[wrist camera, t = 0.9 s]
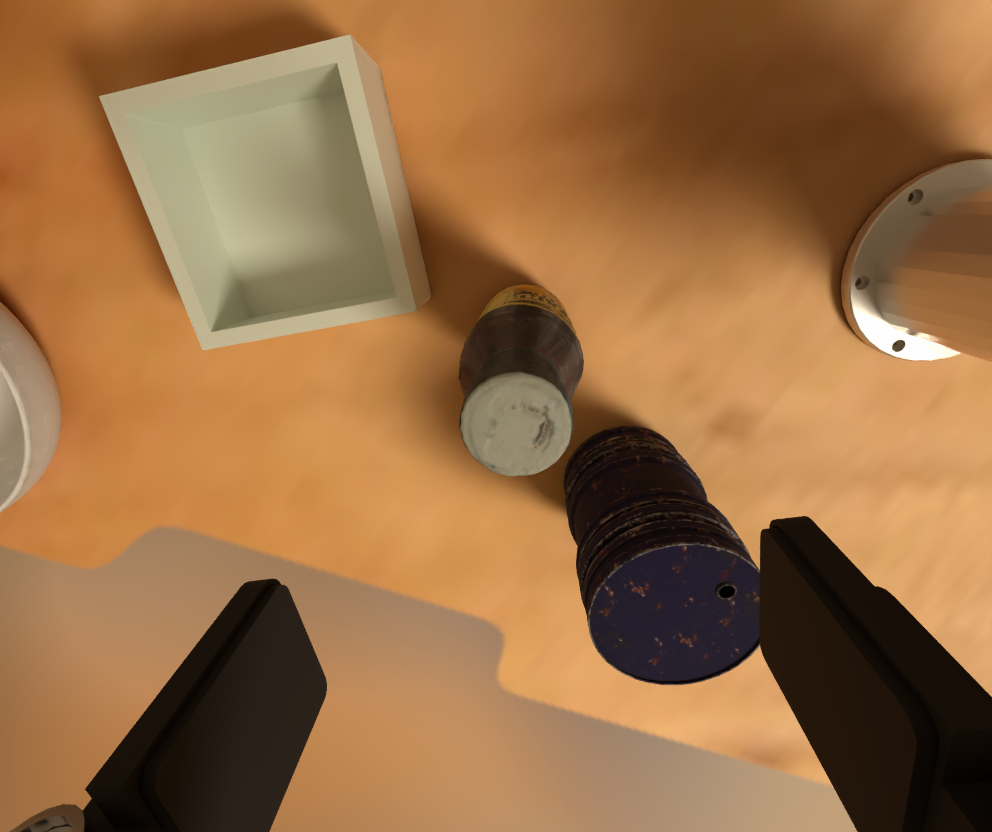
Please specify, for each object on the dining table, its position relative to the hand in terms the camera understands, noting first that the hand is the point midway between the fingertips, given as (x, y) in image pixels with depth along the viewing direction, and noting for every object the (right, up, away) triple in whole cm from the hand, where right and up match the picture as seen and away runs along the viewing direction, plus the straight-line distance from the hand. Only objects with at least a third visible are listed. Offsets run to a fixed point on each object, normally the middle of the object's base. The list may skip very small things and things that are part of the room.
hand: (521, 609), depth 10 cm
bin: (-13, +18, +24) cm, 32 cm away
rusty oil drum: (+10, -1, +31) cm, 32 cm away
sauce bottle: (+1, +11, +26) cm, 28 cm away
